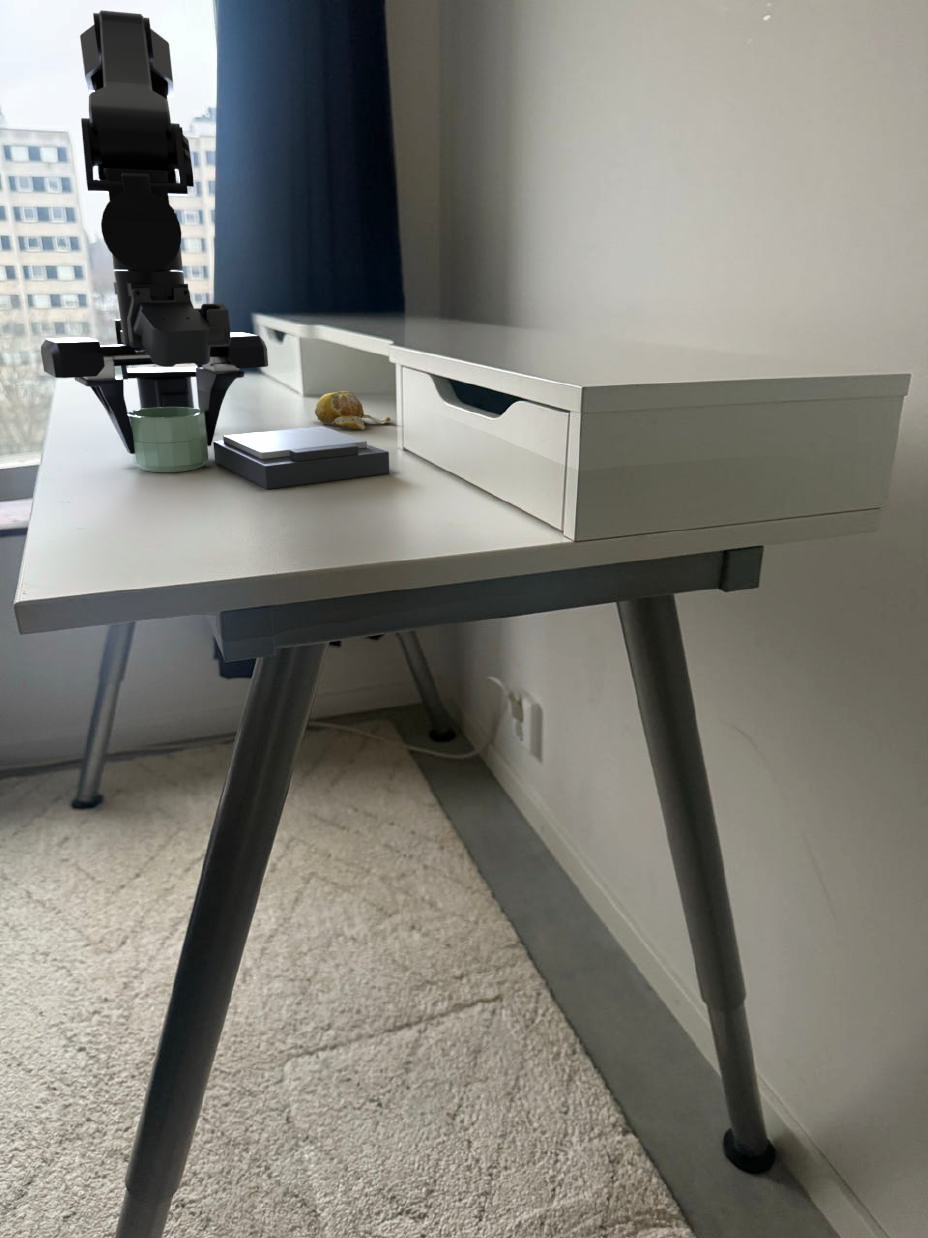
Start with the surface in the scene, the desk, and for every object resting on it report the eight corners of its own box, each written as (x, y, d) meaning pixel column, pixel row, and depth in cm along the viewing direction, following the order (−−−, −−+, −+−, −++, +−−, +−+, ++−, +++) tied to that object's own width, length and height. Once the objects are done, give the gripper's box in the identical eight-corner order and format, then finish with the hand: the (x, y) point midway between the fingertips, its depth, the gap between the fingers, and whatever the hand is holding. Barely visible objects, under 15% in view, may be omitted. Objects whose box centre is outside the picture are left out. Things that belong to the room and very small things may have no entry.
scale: (214, 462, 83) (211, 432, 82) (327, 449, 89) (326, 422, 88) (266, 489, 73) (264, 456, 72) (389, 473, 79) (389, 442, 78)
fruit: (350, 431, 99) (349, 399, 98) (298, 424, 103) (296, 392, 102) (395, 422, 105) (395, 391, 104) (344, 415, 110) (343, 386, 108)
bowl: (126, 462, 82) (119, 409, 80) (196, 455, 86) (191, 404, 84) (146, 476, 77) (138, 420, 75) (220, 468, 81) (214, 414, 79)
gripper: (51, 271, 64) (84, 478, 70) (286, 272, 74) (297, 454, 80) (25, 269, 72) (57, 454, 78) (239, 270, 82) (252, 434, 88)
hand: (170, 449), depth 81 cm, fingers closed on bowl, 7 cm apart
